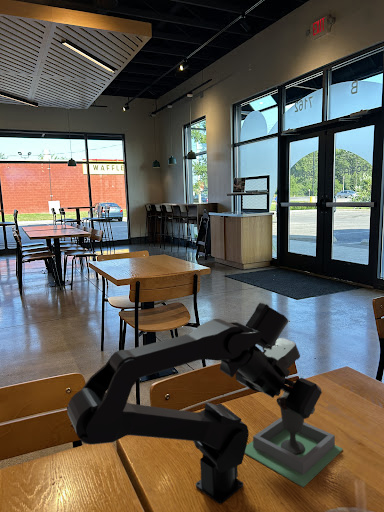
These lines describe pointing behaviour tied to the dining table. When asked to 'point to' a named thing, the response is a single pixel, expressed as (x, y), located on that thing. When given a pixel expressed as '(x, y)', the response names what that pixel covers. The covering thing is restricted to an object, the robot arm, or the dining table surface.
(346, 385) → the dining table surface
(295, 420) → the sundae
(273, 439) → the rimmed mat
